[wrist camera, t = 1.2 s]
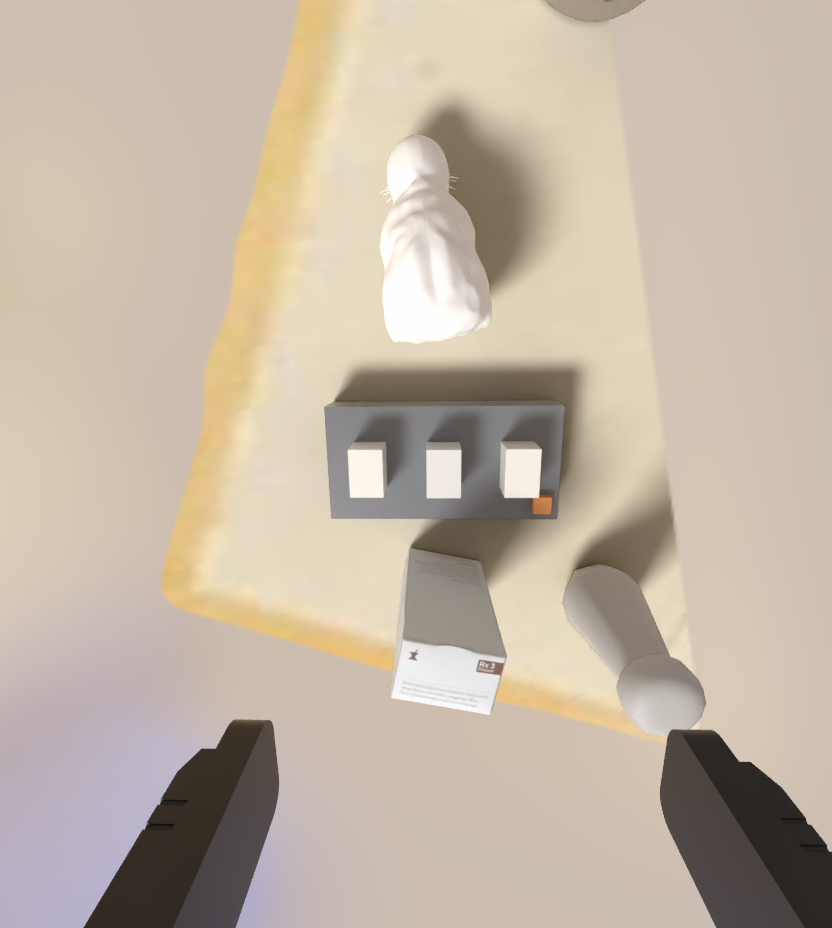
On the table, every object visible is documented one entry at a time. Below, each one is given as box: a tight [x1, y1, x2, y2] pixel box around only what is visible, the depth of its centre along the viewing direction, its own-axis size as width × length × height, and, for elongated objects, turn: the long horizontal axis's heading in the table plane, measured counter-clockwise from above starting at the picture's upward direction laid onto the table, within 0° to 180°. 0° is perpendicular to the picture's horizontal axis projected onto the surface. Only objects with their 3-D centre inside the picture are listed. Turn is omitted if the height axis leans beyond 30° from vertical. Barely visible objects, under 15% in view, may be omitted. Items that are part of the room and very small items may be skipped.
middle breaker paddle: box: [426, 442, 461, 498], centre depth 31 cm, size 3×2×2 cm
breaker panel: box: [324, 400, 565, 519], centre depth 32 cm, size 8×16×5 cm, turn 91°
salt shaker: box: [562, 564, 706, 736], centre depth 31 cm, size 6×6×13 cm
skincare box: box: [391, 548, 507, 715], centre depth 31 cm, size 6×4×12 cm
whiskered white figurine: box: [380, 135, 492, 344], centre depth 27 cm, size 6×8×12 cm
